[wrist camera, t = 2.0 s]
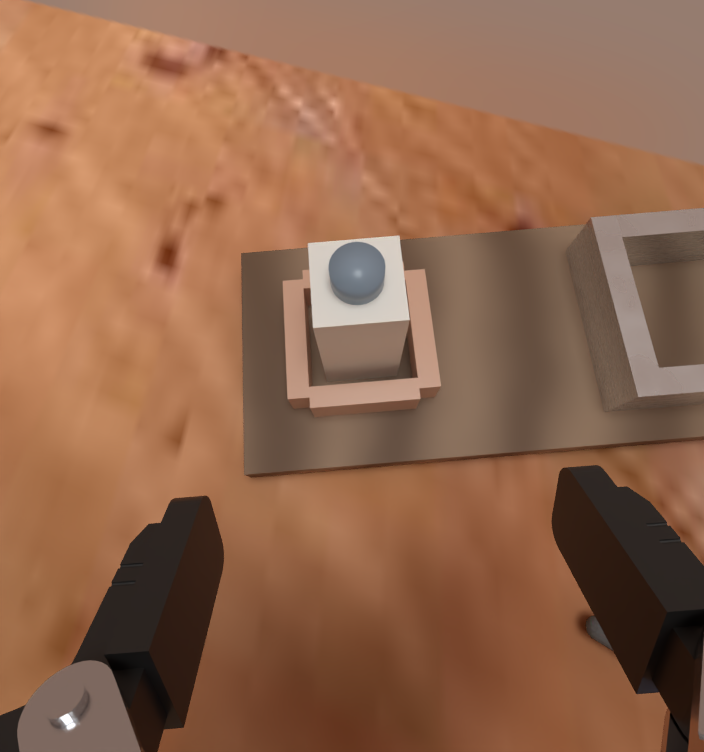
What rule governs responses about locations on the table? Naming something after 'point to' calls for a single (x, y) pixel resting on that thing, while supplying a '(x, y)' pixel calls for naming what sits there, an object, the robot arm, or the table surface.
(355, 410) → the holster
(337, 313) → the plug
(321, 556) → the table surface
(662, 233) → the frame
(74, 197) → the table surface
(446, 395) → the panel
